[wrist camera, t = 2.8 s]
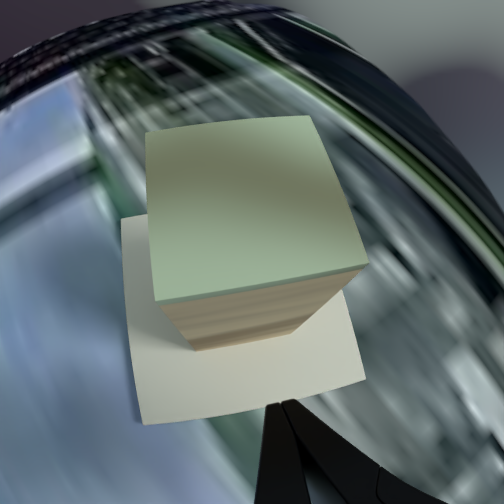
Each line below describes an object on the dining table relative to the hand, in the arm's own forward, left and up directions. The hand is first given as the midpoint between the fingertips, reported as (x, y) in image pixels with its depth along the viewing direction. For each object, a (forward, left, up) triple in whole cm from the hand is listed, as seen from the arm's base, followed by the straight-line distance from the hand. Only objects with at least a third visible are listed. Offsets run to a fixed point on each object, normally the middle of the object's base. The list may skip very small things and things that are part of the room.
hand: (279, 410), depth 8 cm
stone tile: (+4, +4, -8) cm, 10 cm away
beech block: (+4, +4, -7) cm, 9 cm away
